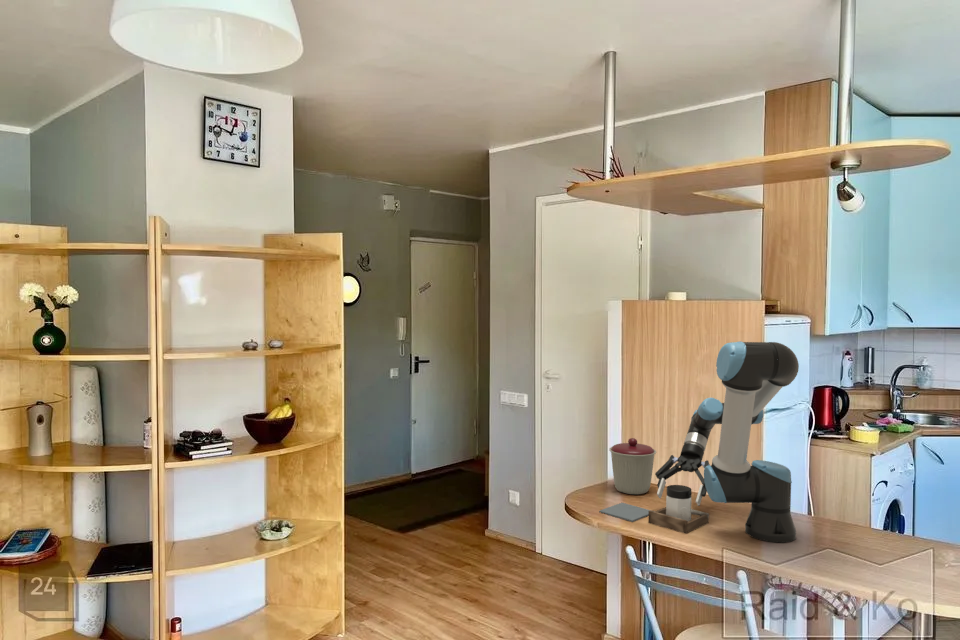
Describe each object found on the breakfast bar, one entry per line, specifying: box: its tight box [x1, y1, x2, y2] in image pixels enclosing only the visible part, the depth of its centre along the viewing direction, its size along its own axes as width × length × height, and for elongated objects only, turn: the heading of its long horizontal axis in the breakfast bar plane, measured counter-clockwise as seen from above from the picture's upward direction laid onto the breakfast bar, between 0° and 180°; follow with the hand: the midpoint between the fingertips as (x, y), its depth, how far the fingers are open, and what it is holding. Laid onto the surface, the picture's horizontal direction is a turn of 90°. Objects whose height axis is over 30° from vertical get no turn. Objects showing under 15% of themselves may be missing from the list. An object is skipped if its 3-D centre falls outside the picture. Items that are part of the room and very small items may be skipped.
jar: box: [665, 484, 692, 521], centre depth 225 cm, size 9×8×12 cm
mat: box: [598, 502, 656, 523], centre depth 236 cm, size 14×14×1 cm
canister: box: [608, 437, 657, 495], centre depth 262 cm, size 18×18×21 cm
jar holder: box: [647, 506, 710, 534], centre depth 226 cm, size 14×15×4 cm
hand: (677, 499), depth 227 cm, fingers open, 13 cm apart
